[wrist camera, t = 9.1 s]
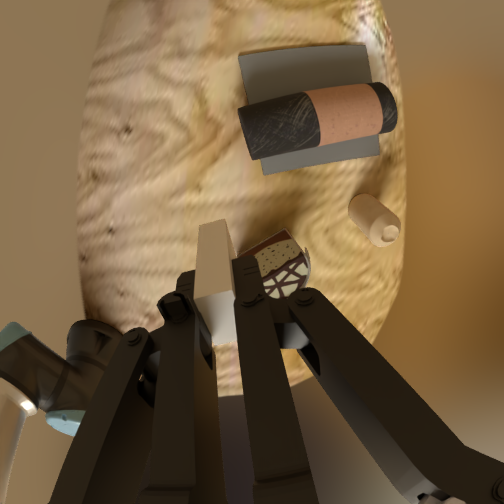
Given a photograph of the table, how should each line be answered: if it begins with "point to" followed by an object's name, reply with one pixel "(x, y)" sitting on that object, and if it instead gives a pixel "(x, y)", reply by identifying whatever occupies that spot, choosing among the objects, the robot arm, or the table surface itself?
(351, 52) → the mat
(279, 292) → the food container
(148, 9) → the table surface
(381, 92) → the travel mug
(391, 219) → the candle
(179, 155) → the table surface
